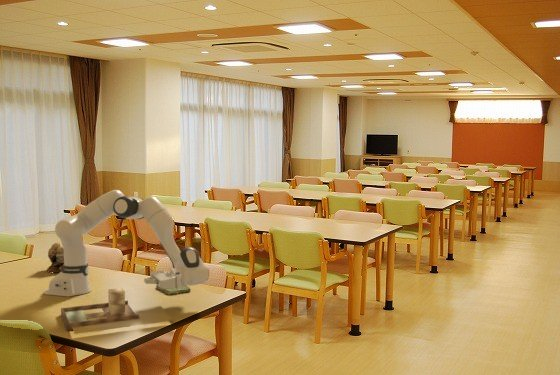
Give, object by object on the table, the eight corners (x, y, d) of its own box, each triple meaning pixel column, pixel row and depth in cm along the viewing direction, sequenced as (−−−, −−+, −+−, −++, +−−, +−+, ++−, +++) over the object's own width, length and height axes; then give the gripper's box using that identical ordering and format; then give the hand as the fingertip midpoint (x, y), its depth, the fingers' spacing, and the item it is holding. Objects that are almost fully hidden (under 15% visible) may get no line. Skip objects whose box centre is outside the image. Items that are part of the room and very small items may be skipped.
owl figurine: (75, 272, 334) (74, 243, 332) (55, 275, 325) (54, 245, 324) (62, 266, 346) (61, 238, 345) (42, 269, 338) (41, 241, 336)
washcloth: (169, 296, 285) (169, 290, 285) (154, 288, 299) (154, 282, 299) (192, 292, 293) (192, 286, 293) (177, 285, 307) (177, 279, 307)
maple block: (122, 309, 257) (122, 288, 256) (125, 313, 251) (124, 291, 250) (108, 311, 254) (108, 289, 253) (111, 315, 249) (110, 292, 248)
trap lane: (127, 306, 267) (127, 300, 266) (138, 321, 245) (138, 314, 245) (61, 314, 254) (61, 308, 254) (67, 331, 232) (66, 324, 232)
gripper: (168, 266, 272) (139, 269, 266) (181, 275, 254) (150, 279, 248) (168, 279, 272) (139, 283, 266) (181, 289, 254) (150, 293, 248)
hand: (144, 281), depth 257 cm, fingers closed
